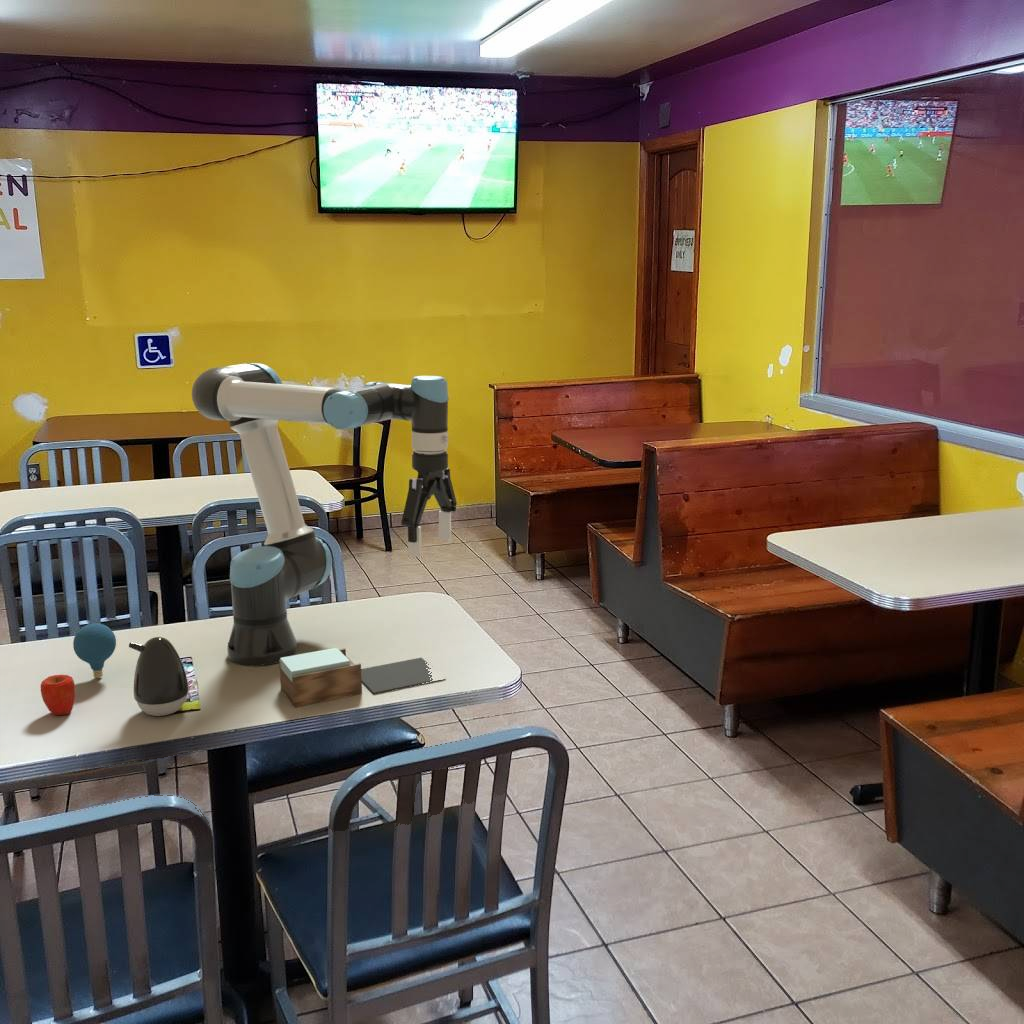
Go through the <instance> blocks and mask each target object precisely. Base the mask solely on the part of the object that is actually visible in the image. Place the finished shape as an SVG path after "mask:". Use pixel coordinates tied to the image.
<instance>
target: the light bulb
mask: <svg viewBox="0 0 1024 1024" xmlns="http://www.w3.org/2000/svg"><path fill="white" fill-rule="evenodd" d="M72 645H73V651H74V653H75V655H76V656H77V658H79V659H80V660H81V661H83V662H85V663H86V664H88V665H89V666H90V669H91V670H92V674H93V677H94V678H95V679H101V678H102V677H103V676H104V675H103V673H104V671H103V668H104V666H105V662H106V661H107V660H108V659H110V657H111V656H112V655H113V654H114V652H115V650H116V647H117V638H116V635H115V632H113V629H112V628H110V627H109V626H107V625H105V624H103V623H100V622H99V623H97V622H96V623H88V624H86V625H84V626H82V627H81V628H80V629H79V630H78V631H76V633H75V636H74V637H73V642H72Z"/></svg>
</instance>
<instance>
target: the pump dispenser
mask: <svg viewBox="0 0 1024 1024" xmlns="http://www.w3.org/2000/svg"><path fill="white" fill-rule="evenodd" d="M128 648H130V649H133V650H135V651H137V652H139V656H138V657H137V661H136V665H135V671H134V676H133V691H132V692H133V699H134V700H135V702H136V703H137V705H138V707H139V709H141V711H142V712H144V713H145V714H147V715H150V716H154V717H165V716H168V715H171V714H174V713H176V712H177V711H179V710H180V709H181V708H182V707H183V706H184V704H185V703H186V700H187V696H188V694H189V691H190V689H189V687H190V686H189V681H188V678H187V673H186V669H185V666H184V663H183V661H182V659H181V657H180V655H179V652H178V651H177V649H176V647H175V646H174V645H173V644H172V642H171V641H170V640H168V639H167V638H166V637H164V636H154V637H151V638H149V639H148V640H147V641H145V644H140V643H137V642H133V641H130V642H129V643H128Z"/></svg>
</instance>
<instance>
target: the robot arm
mask: <svg viewBox="0 0 1024 1024" xmlns="http://www.w3.org/2000/svg"><path fill="white" fill-rule="evenodd" d="M448 391H449V389H448V382H447V379H446V378H444V377H443V376H441V375H440V376H438V375H418V376H417V375H415V376H414V377H412V379H411V383H410V384H402V383H393V382H385V381H370V382H367V383H365V384H364V386H363V387H359V388H353V389H352V388H340V387H339V388H335V387H325V386H323V387H322V386H312V385H311V386H310V385H309V386H308V385H297V384H296V385H295V384H285V383H284V384H283V381H282V379H281V377H280V376H279V375H278V373H277V372H276V371H275V370H274V369H273V368H272V367H270V366H268V365H266V364H263V363H259V362H255V363H253V362H252V363H251V362H247V363H241V364H240V363H239V364H233V365H227V366H219V367H218V366H217V367H213V368H210V369H207V370H205V371H203V372H202V373H200V374H199V375H198V376H197V378H196V379H195V380H194V382H193V383H192V388H191V400H192V402H193V403H192V404H193V405H194V407H195V409H196V411H197V412H198V413H199V414H201V416H204V418H207V419H209V420H212V421H228V423H229V427H230V430H233V431H234V432H235V433H238V435H239V437H240V440H241V443H242V447H243V450H244V454H245V457H246V461H247V465H248V467H249V472H250V475H251V478H252V482H253V484H254V485H253V486H254V489H255V493H256V495H257V498H258V499H257V500H258V502H259V506H260V510H261V513H262V516H263V520H264V523H265V527H266V529H267V533H268V534H267V537H266V539H265V541H264V543H263V544H264V546H256V547H255V548H253V547H252V548H248V549H245V550H243V551H240V552H239V553H237V554H236V555H234V557H233V558H232V559H231V561H230V567H229V568H230V569H229V582H230V592H231V604H232V605H231V606H232V615H233V618H232V619H233V624H232V628H231V631H230V637H229V639H228V643H227V649H226V650H227V658H228V660H229V661H231V662H232V663H234V664H238V665H241V666H242V665H243V666H252V667H253V666H268V665H273V664H277V663H278V664H279V660H280V658H282V657H288V656H293V655H297V652H298V648H297V647H298V646H297V645H298V644H297V639H296V636H295V634H294V632H293V629H292V626H291V625H290V622H289V620H288V611H287V601H288V600H289V599H292V598H294V597H297V596H298V595H300V594H304V593H305V592H309V591H312V590H314V589H316V588H317V587H318V586H320V585H322V584H323V583H324V582H325V581H326V580H327V579H328V577H329V576H330V574H331V572H332V566H333V558H332V554H331V553H332V552H331V551H330V549H329V546H328V545H327V543H325V542H323V540H322V539H321V538H320V537H316V534H315V530H314V529H313V528H311V527H310V526H308V525H307V524H306V523H305V519H304V516H303V513H302V510H301V506H300V503H299V498H298V494H297V492H296V488H295V485H294V481H293V478H292V475H291V471H290V467H289V464H288V460H287V456H286V453H285V449H284V447H283V443H282V440H281V436H280V432H279V428H278V423H279V421H283V422H296V423H304V424H305V423H307V424H318V425H319V424H320V425H330V426H331V427H333V428H334V429H336V430H354V429H357V428H358V427H363V426H366V425H371V424H375V423H380V422H384V421H388V420H397V421H398V420H399V421H408V422H411V449H412V450H413V452H412V453H411V467H412V469H413V470H414V471H416V472H417V478H412V477H410V478H409V480H408V491H407V495H406V496H407V497H406V500H405V504H404V509H403V513H402V519H401V526H404V527H407V556H408V557H412V558H413V557H414V558H419V559H420V558H422V526H419V525H420V523H421V520H422V517H423V514H424V511H425V509H426V507H427V502H428V501H429V500H430V499H431V498H432V496H434V498H435V500H436V502H437V504H438V506H439V508H440V510H439V511H438V541H442V542H452V512H454V513H455V512H456V510H457V503H458V501H457V499H456V494H455V490H454V487H453V483H452V479H451V468H449V453H448V451H447V450H448V448H449V447H448V445H449V440H450V438H449V435H448V434H449V433H448V430H449V429H448V428H449V427H448V416H449V414H448V413H449V411H448V410H449V399H450V398H449V392H448Z"/></svg>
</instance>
